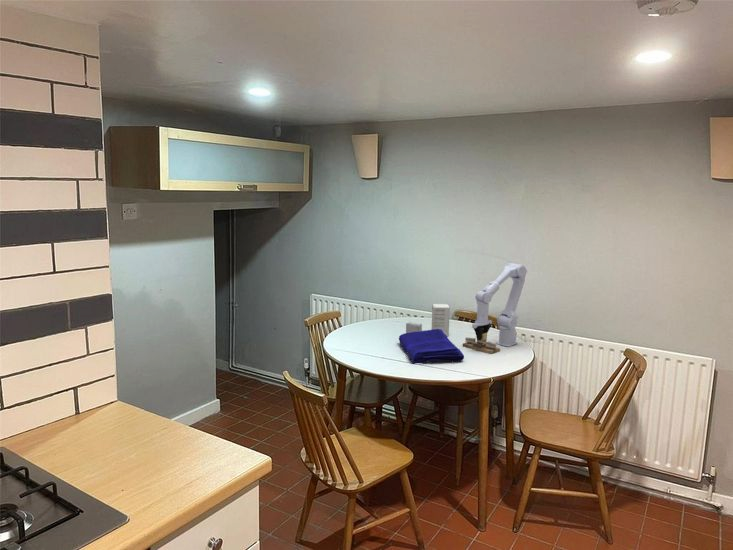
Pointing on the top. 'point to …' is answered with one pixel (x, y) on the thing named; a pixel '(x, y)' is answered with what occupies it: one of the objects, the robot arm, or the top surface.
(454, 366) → the top surface
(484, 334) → the wooden block with knob
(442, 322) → the supplement box
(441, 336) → the towel
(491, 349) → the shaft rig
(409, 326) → the medicine box
